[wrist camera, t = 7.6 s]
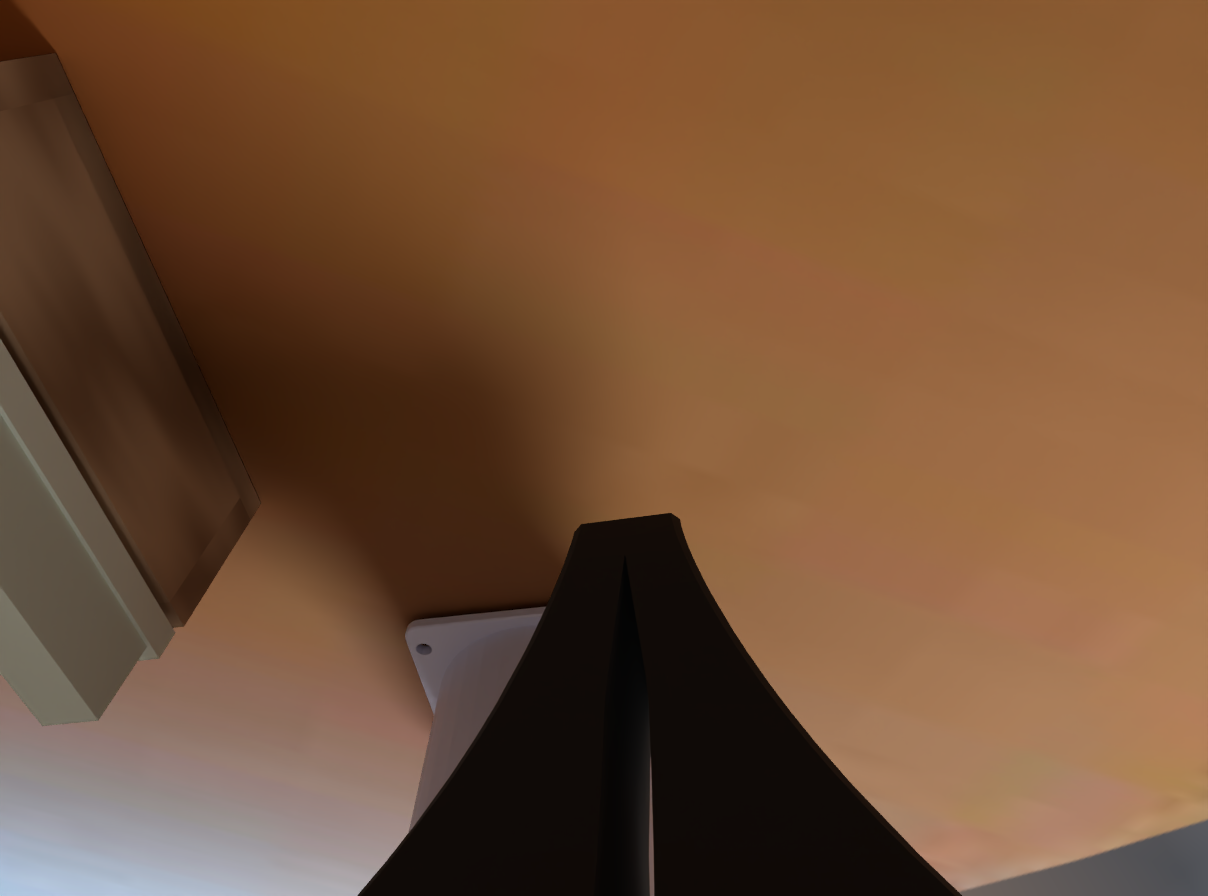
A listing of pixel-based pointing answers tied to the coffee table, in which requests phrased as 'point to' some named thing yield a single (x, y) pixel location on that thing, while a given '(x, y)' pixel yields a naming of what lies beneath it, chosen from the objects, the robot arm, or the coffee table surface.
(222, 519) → the box
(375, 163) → the coffee table surface
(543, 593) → the coffee table surface
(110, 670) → the lid
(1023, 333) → the coffee table surface
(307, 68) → the coffee table surface
